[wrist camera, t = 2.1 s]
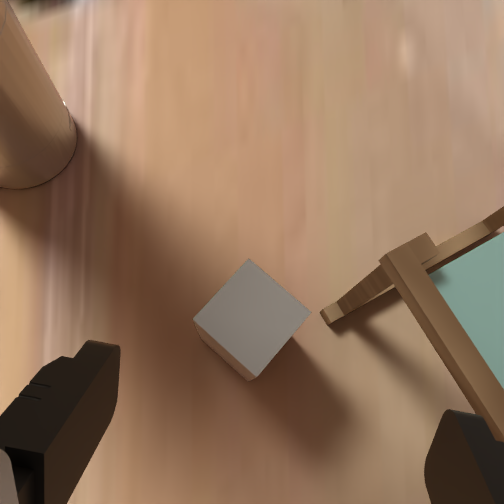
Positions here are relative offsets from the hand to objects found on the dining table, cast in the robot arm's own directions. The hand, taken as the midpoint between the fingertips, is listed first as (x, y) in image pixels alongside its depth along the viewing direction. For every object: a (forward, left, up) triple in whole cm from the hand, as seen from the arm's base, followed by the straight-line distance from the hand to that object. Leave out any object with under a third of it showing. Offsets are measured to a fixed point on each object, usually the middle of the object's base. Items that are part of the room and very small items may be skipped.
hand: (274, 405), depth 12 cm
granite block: (+3, +4, -26) cm, 26 cm away
